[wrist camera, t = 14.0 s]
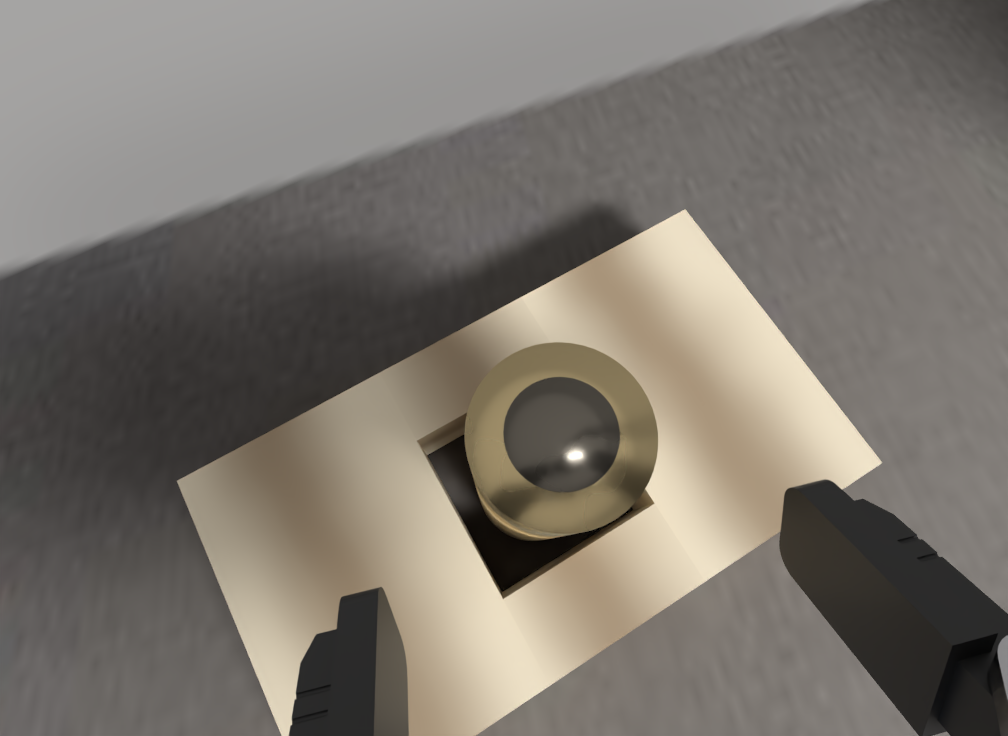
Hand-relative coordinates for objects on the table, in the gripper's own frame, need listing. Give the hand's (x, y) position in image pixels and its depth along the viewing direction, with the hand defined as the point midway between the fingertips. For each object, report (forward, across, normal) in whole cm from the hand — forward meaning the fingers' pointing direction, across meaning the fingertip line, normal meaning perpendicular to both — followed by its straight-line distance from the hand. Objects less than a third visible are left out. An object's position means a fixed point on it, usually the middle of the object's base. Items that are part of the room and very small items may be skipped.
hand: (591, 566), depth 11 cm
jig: (+9, 0, +5) cm, 10 cm away
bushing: (+9, 0, +5) cm, 10 cm away
